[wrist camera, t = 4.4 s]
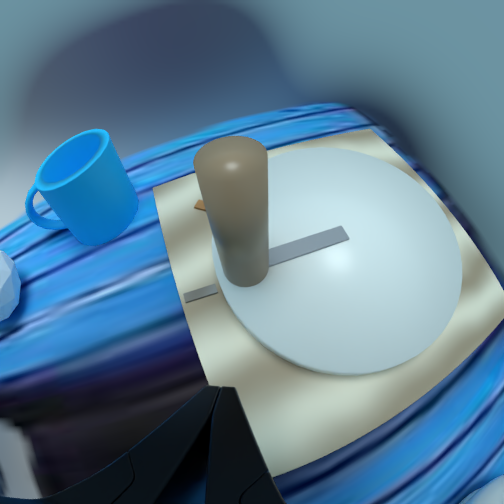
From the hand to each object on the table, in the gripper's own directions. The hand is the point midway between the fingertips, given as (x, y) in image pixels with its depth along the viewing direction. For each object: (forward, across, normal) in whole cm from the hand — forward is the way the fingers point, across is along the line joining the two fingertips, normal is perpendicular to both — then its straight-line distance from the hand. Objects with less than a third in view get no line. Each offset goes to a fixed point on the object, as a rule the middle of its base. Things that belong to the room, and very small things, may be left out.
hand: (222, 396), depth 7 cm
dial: (+15, -7, -1) cm, 16 cm away
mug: (+19, +18, -3) cm, 26 cm away
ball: (+12, +26, +4) cm, 29 cm away
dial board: (+16, -7, 0) cm, 18 cm away
